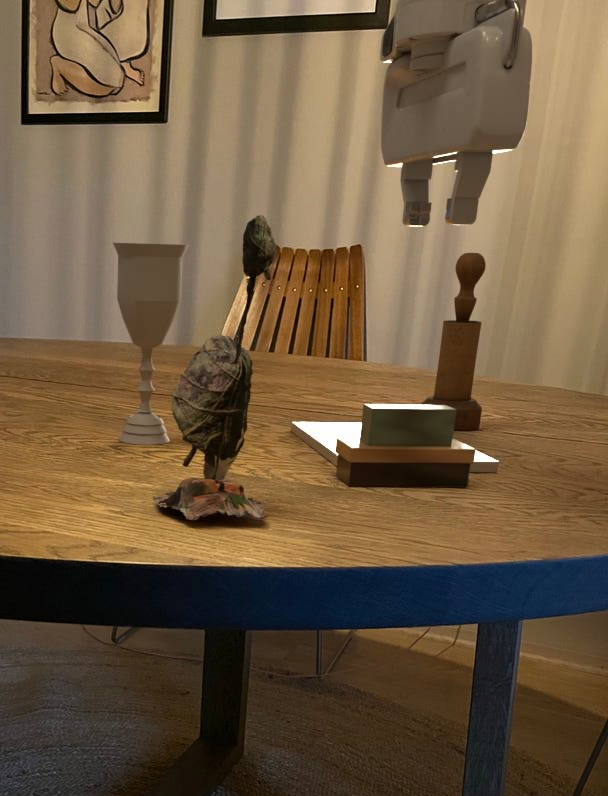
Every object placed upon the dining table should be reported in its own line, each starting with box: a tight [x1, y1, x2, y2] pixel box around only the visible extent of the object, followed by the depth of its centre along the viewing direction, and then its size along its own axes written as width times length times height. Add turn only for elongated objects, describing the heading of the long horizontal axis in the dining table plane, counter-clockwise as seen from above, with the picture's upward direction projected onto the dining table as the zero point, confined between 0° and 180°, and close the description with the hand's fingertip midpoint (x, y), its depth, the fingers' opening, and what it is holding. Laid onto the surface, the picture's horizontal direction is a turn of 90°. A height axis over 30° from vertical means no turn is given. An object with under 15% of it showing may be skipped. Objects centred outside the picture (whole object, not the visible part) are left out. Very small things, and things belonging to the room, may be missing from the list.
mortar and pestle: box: [419, 252, 487, 431], centre depth 111 cm, size 7×6×18 cm
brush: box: [335, 403, 477, 488], centre depth 85 cm, size 10×4×6 cm, turn 95°
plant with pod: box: [152, 214, 277, 521], centre depth 72 cm, size 8×11×20 cm
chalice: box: [112, 242, 189, 446], centre depth 98 cm, size 7×7×18 cm
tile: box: [290, 421, 500, 474], centre depth 99 cm, size 14×20×1 cm
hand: (436, 225), depth 79 cm, fingers open, 8 cm apart
